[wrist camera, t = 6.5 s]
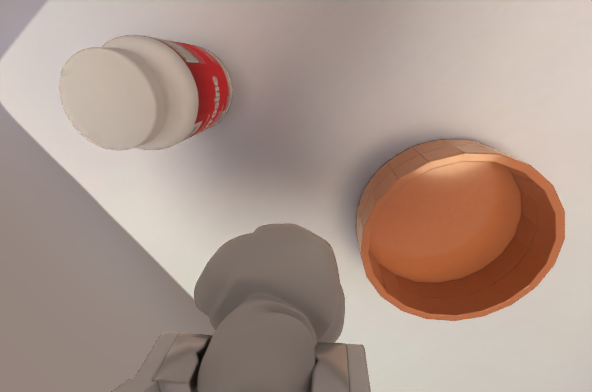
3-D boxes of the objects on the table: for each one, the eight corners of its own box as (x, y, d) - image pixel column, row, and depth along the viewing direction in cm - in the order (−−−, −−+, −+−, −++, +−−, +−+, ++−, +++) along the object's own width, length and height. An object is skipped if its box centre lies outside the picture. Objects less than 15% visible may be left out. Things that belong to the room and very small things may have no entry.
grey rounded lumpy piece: (374, 243, 13) (435, 493, 5) (293, 339, 15) (261, 596, 8) (257, 176, 12) (145, 358, 5) (194, 288, 15) (58, 518, 7)
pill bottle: (212, 141, 26) (142, 188, 16) (147, 100, 25) (28, 121, 15) (248, 75, 24) (192, 80, 14) (177, 27, 23) (62, -5, 13)
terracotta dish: (363, 136, 25) (371, 149, 21) (550, 141, 24) (597, 156, 20) (350, 280, 30) (354, 314, 26) (501, 290, 29) (530, 326, 25)
